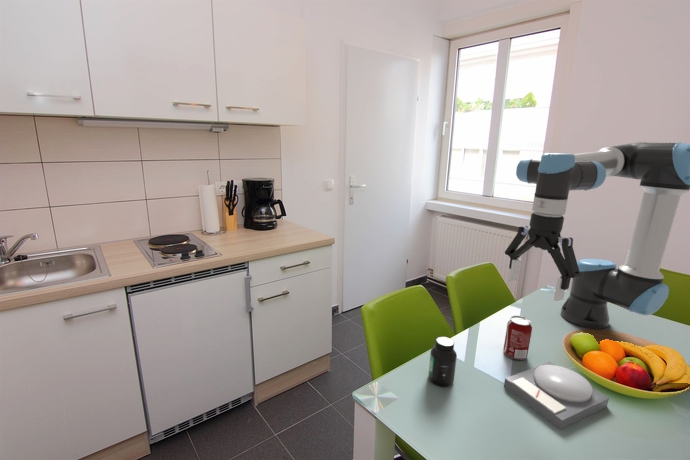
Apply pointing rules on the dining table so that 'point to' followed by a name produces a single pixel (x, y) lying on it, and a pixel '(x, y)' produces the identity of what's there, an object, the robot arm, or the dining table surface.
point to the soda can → (517, 337)
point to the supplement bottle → (442, 362)
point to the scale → (556, 393)
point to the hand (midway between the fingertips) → (534, 289)
